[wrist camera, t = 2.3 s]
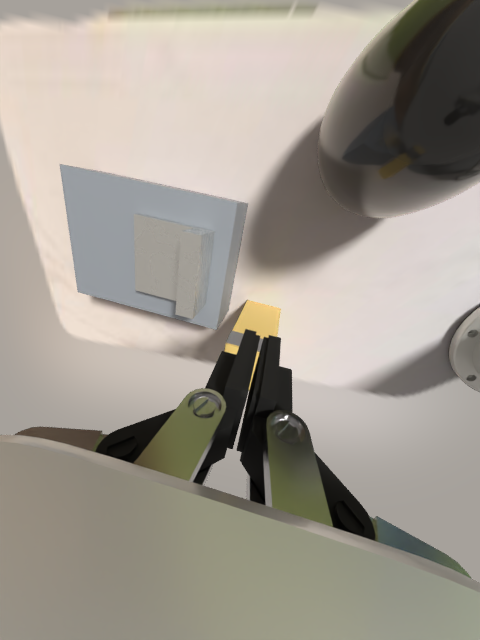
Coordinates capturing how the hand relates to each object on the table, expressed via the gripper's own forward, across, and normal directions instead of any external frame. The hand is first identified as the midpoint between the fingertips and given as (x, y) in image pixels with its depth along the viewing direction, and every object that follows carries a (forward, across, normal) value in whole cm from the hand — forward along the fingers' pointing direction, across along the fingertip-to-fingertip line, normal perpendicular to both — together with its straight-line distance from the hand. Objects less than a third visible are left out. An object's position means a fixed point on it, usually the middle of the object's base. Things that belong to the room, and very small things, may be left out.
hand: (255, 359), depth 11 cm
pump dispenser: (+17, -6, -12) cm, 21 cm away
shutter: (+12, +9, 0) cm, 15 cm away
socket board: (+17, +12, 0) cm, 21 cm away
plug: (+16, 0, +6) cm, 18 cm away
